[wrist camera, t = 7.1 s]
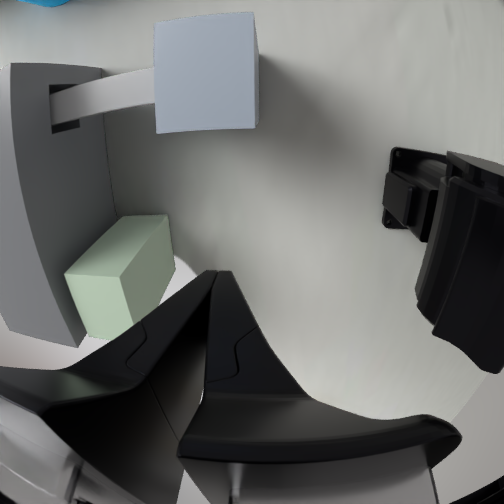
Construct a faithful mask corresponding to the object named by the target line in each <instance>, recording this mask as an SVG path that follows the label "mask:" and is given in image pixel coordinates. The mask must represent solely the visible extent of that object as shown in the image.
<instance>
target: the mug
mask: <svg viewBox="0 0 504 504" xmlns="http://www.w3.org/2000/svg"><path fill="white" fill-rule="evenodd" d="M18 1H23V2H28V3H32V4H37V5H41V6H45V7H55V6H58V5H62V4H64V3H66V2H67V1H69V0H18Z"/></svg>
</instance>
